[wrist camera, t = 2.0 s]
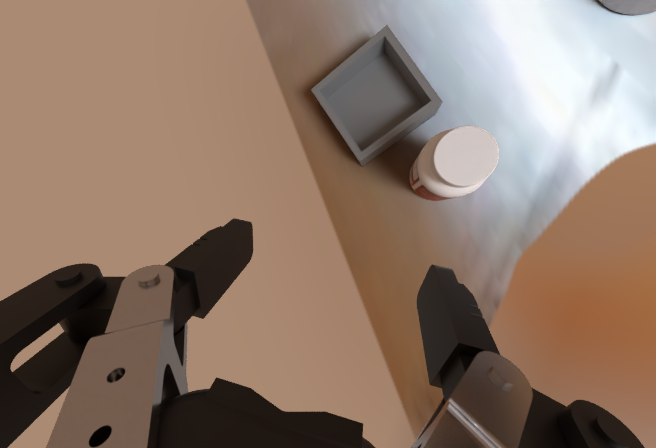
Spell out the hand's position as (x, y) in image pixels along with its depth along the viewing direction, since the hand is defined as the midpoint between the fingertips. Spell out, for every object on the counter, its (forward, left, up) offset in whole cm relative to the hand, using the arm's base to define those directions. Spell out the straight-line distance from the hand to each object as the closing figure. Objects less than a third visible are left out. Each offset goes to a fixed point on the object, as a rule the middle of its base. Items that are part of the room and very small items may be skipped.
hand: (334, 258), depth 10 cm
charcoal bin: (-9, -12, -21) cm, 26 cm away
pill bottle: (-10, -1, -22) cm, 24 cm away
